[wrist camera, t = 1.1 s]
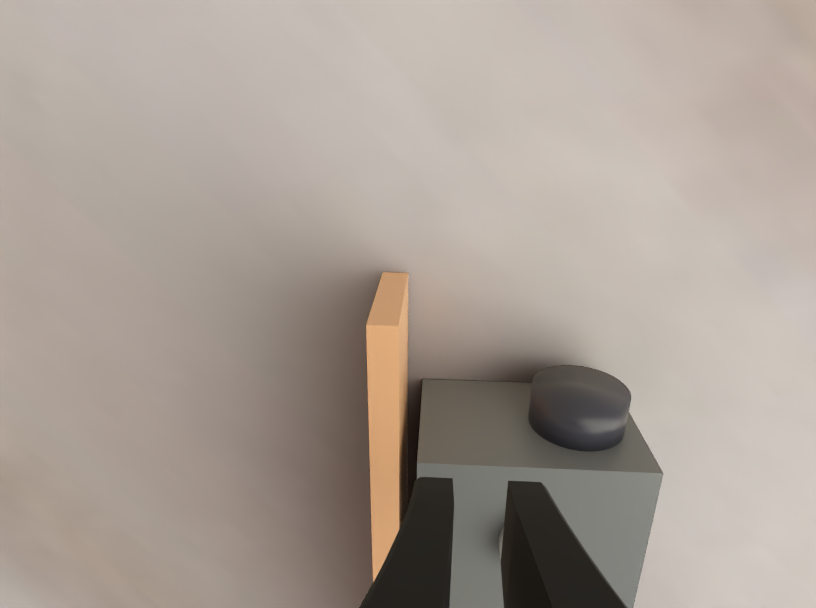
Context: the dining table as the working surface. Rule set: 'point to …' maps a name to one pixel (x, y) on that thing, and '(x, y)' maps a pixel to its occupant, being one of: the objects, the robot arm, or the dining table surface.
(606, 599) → the robot arm
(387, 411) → the long wooden block
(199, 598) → the dining table surface
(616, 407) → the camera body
